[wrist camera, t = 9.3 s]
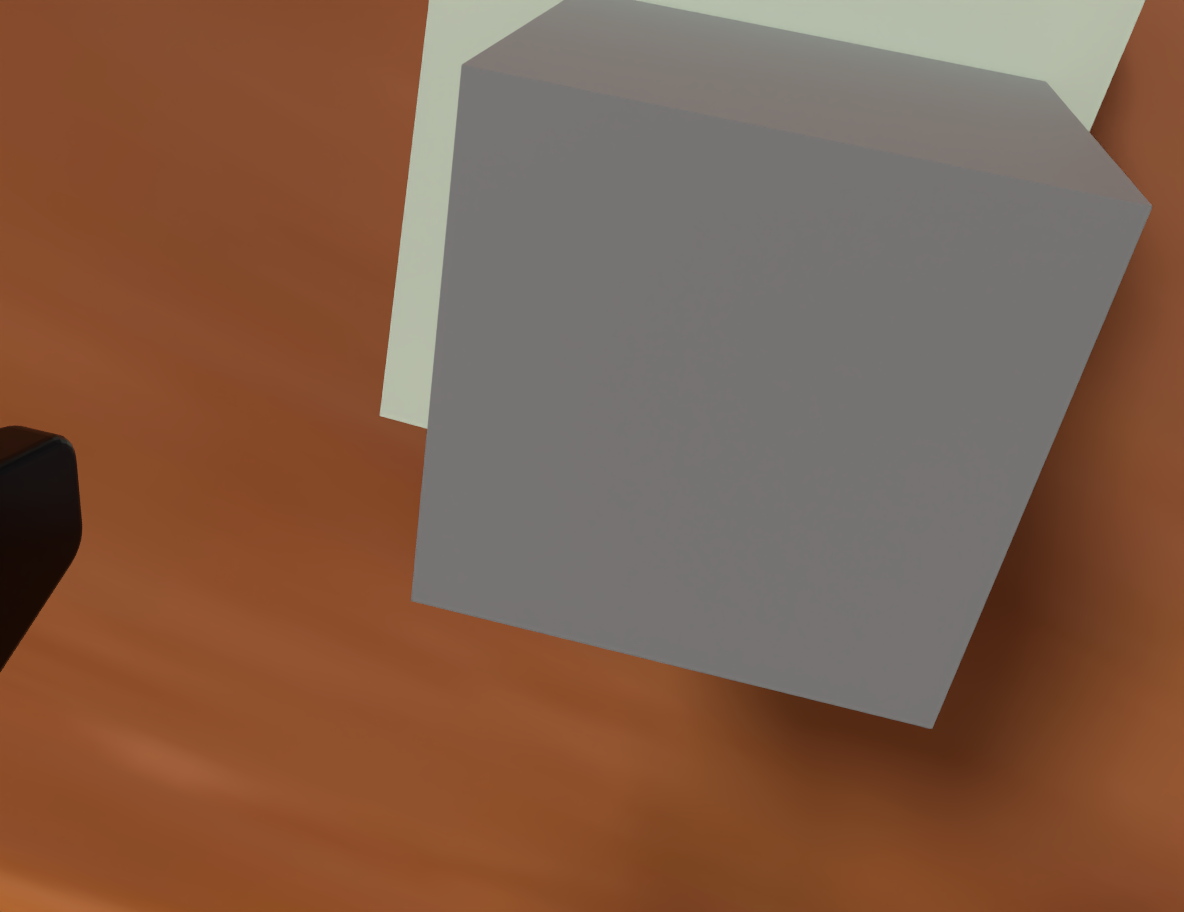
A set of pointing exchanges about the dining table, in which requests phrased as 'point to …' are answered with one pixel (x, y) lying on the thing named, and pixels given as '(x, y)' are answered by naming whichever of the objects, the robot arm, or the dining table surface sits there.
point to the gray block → (754, 345)
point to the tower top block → (795, 3)
